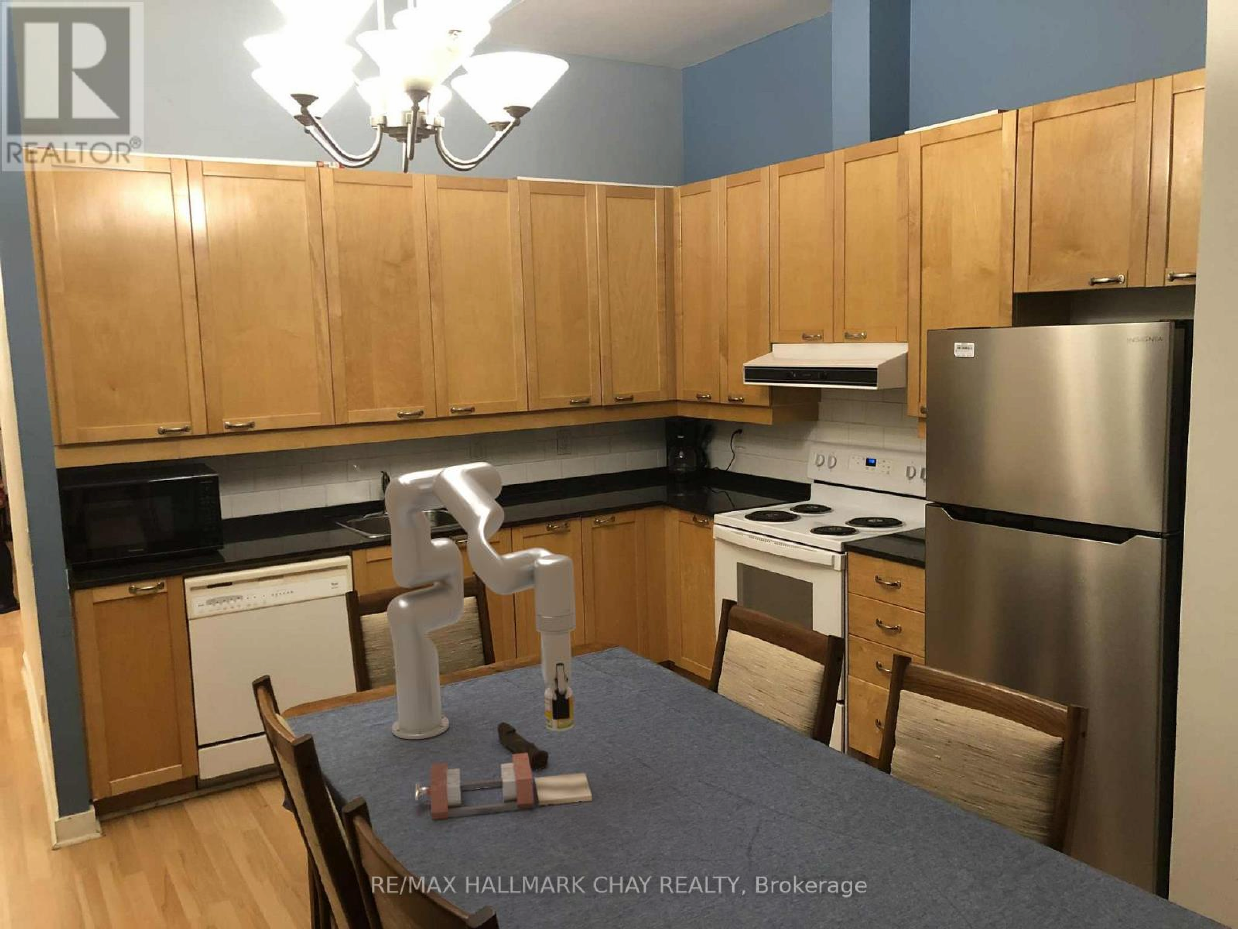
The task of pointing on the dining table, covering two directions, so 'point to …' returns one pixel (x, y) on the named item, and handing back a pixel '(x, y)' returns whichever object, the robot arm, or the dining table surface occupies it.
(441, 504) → the robot arm
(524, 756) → the vise
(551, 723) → the supplement bottle
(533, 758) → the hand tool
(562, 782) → the birch board
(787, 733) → the dining table surface
